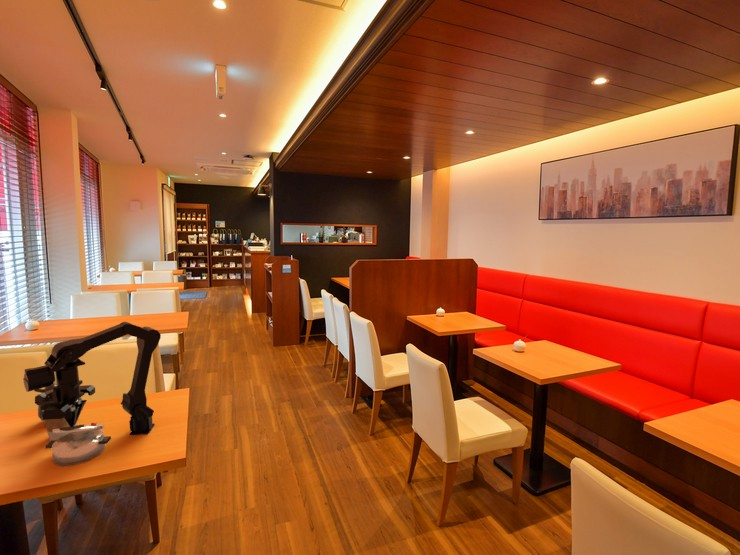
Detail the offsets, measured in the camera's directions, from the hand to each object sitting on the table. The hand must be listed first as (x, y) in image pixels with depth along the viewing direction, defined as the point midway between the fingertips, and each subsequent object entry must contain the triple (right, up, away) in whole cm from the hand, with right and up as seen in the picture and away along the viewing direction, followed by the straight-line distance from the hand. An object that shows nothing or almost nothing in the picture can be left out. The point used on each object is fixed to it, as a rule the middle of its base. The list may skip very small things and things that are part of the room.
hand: (72, 425), depth 126 cm
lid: (0, -3, +3) cm, 4 cm away
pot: (-1, -11, +4) cm, 12 cm away
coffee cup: (-15, -9, +13) cm, 22 cm away
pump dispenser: (-25, -8, +24) cm, 36 cm away
